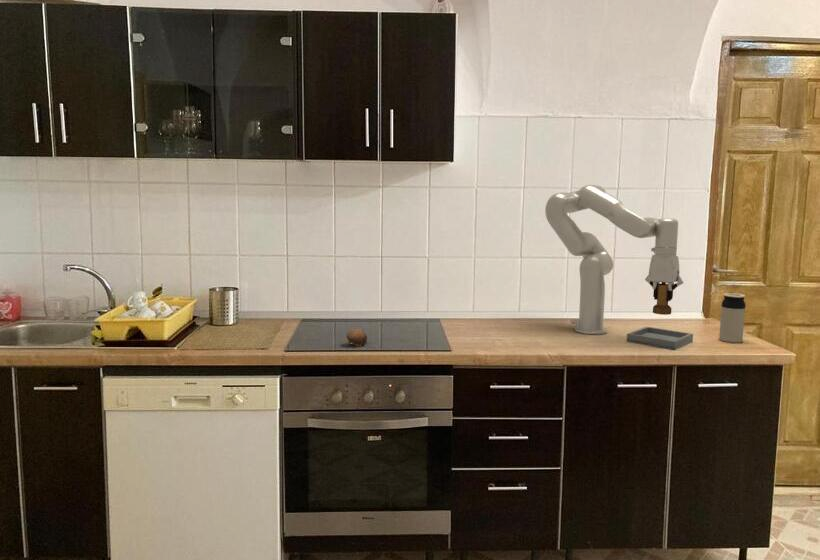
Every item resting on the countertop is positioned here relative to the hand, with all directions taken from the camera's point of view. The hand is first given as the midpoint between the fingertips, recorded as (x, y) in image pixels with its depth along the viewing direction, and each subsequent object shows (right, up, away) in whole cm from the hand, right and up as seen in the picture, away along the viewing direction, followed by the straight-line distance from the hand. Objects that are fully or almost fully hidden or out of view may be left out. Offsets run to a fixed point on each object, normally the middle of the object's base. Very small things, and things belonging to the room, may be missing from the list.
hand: (662, 299), depth 231 cm
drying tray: (0, -16, +2) cm, 16 cm away
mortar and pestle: (0, -5, +1) cm, 5 cm away
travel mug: (+28, -16, +5) cm, 33 cm away
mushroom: (-115, -17, -5) cm, 117 cm away
